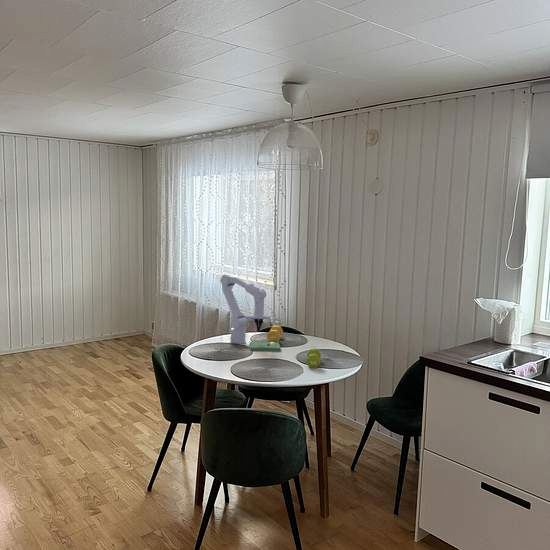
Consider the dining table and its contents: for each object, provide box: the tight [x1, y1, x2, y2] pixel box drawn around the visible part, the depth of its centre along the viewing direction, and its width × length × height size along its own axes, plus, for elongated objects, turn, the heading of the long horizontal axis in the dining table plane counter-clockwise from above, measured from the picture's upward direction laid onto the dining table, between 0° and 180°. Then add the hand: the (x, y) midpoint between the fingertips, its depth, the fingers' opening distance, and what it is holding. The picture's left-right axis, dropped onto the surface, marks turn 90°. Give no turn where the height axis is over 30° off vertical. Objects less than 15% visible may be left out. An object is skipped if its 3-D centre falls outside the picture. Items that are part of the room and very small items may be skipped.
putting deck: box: [249, 341, 282, 352], centre depth 311 cm, size 18×14×2 cm
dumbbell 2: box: [266, 325, 284, 342], centre depth 332 cm, size 19×9×8 cm, turn 173°
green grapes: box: [305, 347, 322, 369], centre depth 280 cm, size 16×8×7 cm, turn 174°
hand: (258, 331), depth 314 cm, fingers closed
